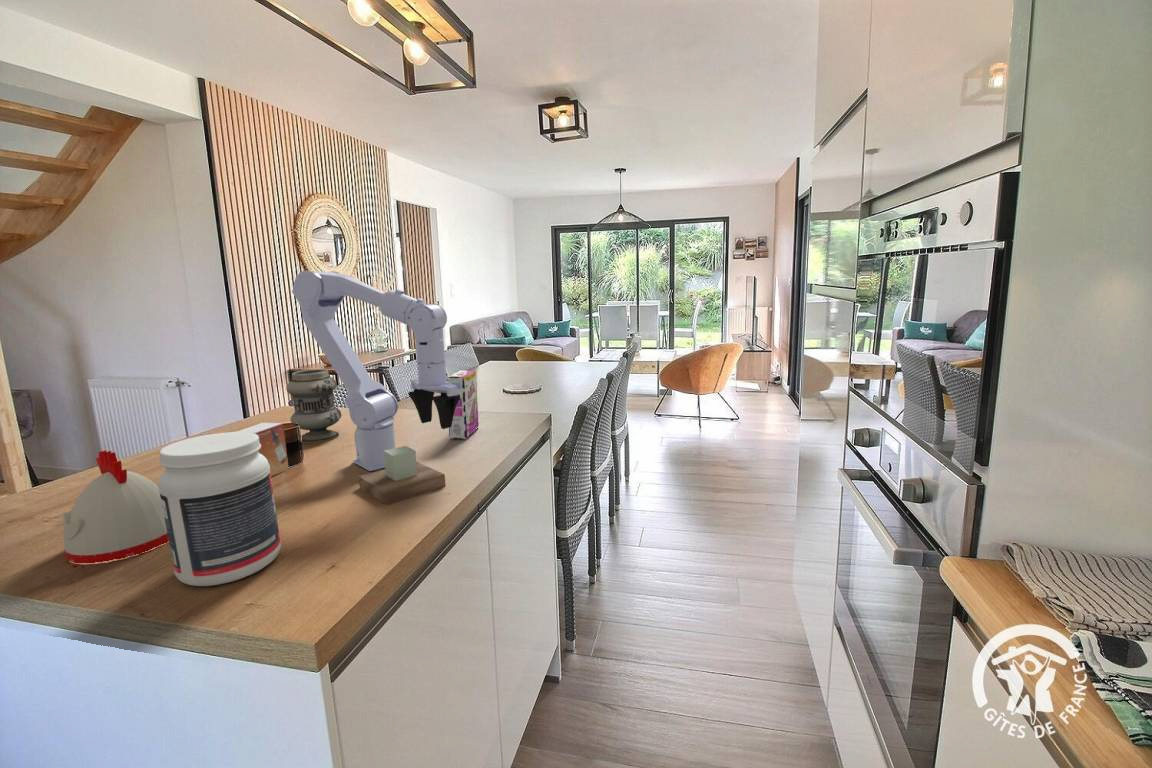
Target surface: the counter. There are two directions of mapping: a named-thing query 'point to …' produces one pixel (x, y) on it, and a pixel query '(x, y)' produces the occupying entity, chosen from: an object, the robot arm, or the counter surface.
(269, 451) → the small box
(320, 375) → the ornate stone vase
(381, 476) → the walnut slab
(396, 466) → the sage block
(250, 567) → the supplement tub
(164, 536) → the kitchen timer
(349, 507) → the counter surface
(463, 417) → the candy bar box
